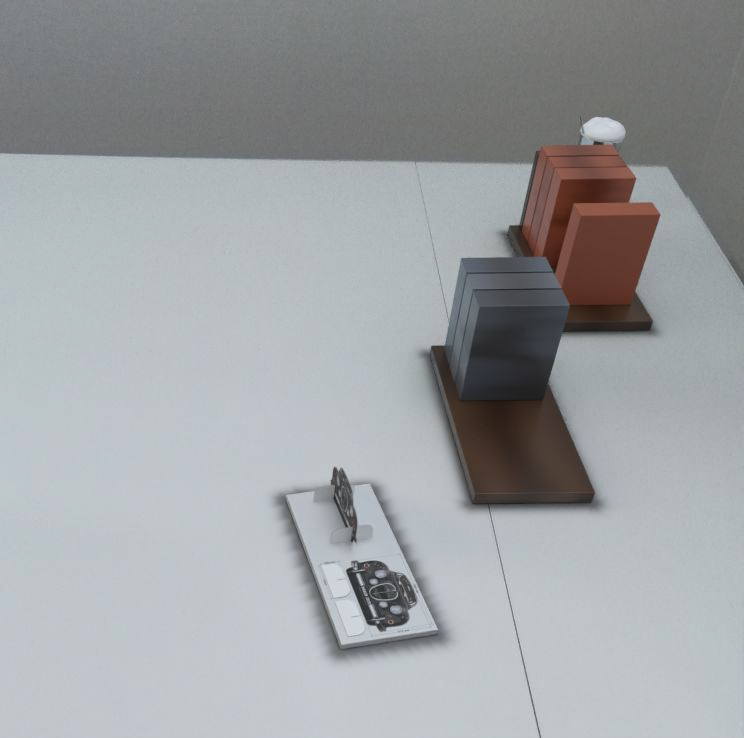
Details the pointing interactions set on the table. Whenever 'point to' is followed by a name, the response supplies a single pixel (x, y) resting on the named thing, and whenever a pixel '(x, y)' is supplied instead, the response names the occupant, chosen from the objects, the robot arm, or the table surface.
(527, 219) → the terracotta shelf
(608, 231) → the terracotta book
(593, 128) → the milkshake
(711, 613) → the table surface
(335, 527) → the car cutout
